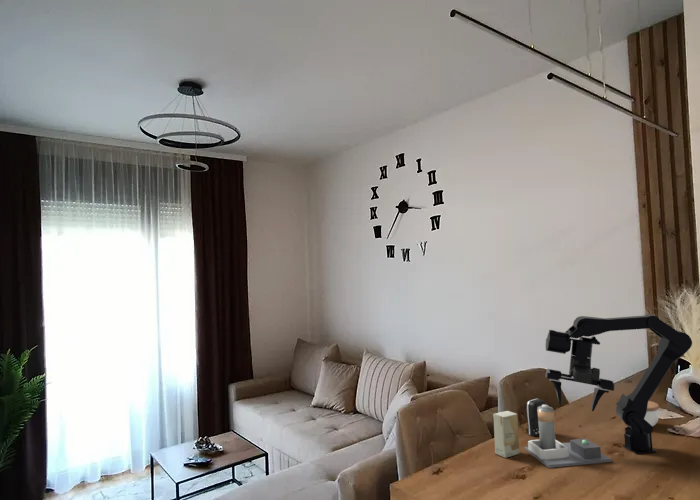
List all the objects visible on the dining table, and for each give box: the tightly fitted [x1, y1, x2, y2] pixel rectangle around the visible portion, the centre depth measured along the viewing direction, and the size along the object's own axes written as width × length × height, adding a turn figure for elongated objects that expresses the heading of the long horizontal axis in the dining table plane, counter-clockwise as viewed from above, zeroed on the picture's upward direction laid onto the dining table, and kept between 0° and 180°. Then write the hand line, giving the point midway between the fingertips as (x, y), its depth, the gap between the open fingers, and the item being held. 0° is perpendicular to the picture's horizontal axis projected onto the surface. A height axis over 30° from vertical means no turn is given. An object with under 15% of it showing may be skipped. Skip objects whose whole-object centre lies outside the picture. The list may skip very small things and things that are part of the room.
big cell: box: [537, 404, 556, 450], centre depth 140 cm, size 4×4×14 cm
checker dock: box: [524, 438, 612, 469], centre depth 139 cm, size 19×14×5 cm
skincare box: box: [492, 410, 520, 459], centre depth 143 cm, size 6×4×12 cm
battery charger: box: [525, 398, 547, 437], centre depth 157 cm, size 7×4×11 cm, turn 121°
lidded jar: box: [644, 400, 660, 427], centre depth 160 cm, size 11×11×9 cm
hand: (575, 407), depth 143 cm, fingers open, 9 cm apart
